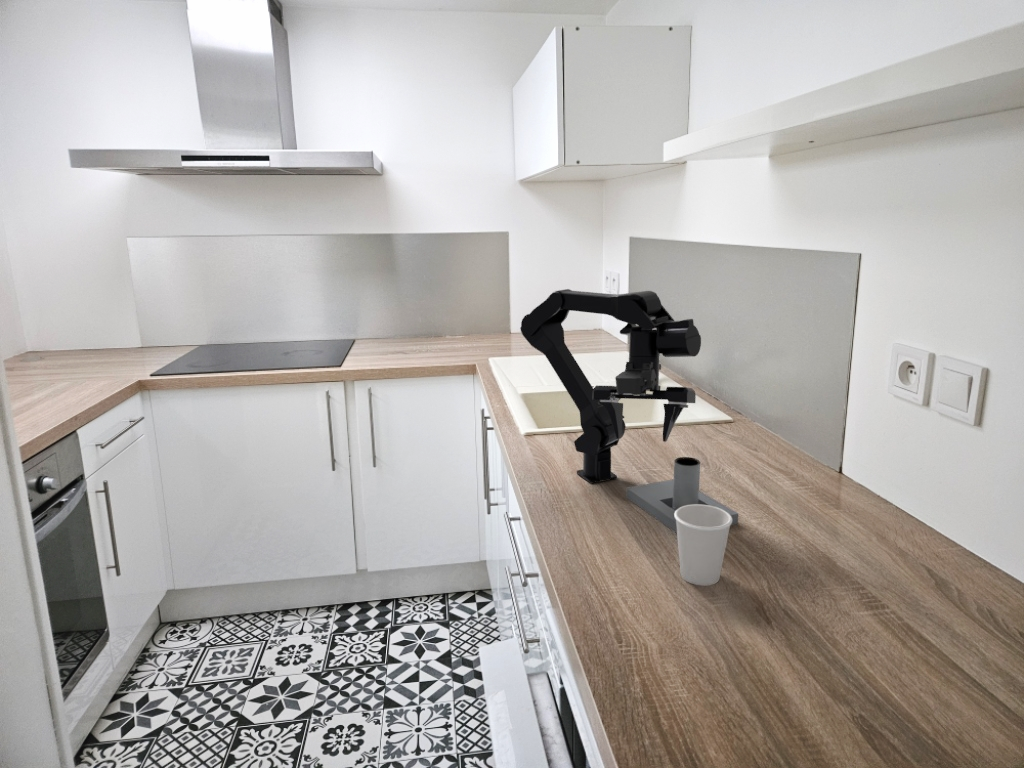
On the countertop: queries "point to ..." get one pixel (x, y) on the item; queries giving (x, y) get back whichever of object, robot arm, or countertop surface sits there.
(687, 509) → the dixie cup
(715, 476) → the countertop surface
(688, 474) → the gray tube
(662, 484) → the socket board
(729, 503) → the countertop surface
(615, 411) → the robot arm
